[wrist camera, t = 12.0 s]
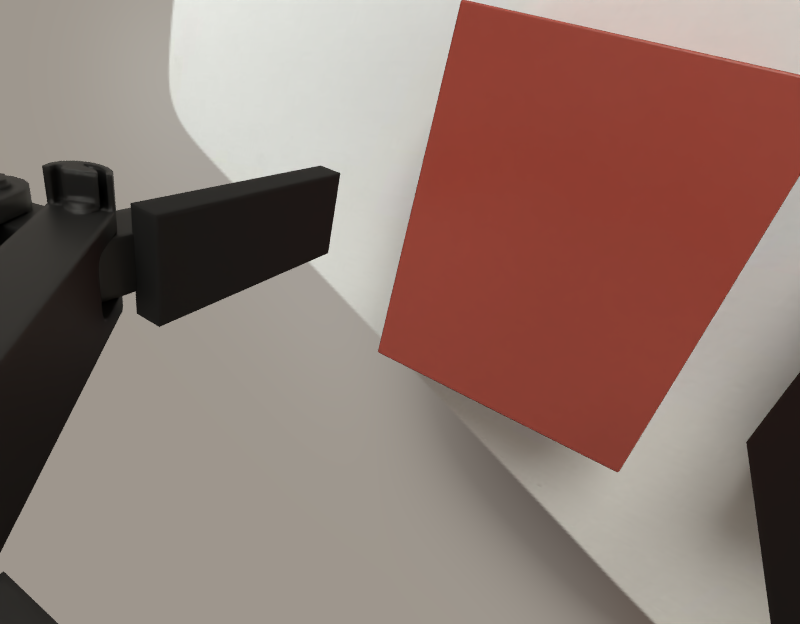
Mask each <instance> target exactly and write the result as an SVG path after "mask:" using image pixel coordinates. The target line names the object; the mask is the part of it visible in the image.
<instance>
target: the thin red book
mask: <svg viewBox="0 0 800 624" xmlns="http://www.w3.org/2000/svg"><path fill="white" fill-rule="evenodd" d="M799 176H800V75H798V74H794V73H789V72H785V71H780V70H776V69H771V68H767V67H762V66H758V65H753V64H749V63H744V62H740V61H735V60H731V59H726V58H722V57H717V56H713V55H709V54H704V53H700V52H695V51H691V50H686V49H682V48H677V47H673V46H668V45H664V44H659V43H655V42H650V41H646V40H641V39H637V38H633V37H628V36H624V35H619V34H615V33H610V32H606V31H601V30H597V29H592V28H588V27H583V26H579V25H574V24H570V23H565V22H561V21H556V20H552V19H548V18H543V17H539V16H534V15H530V14H525V13H521V12H516V11H512V10H507V9H503V8H498V7H494V6H489V5H485V4H480V3H476V2H471V1H467V0H462V1H461V4H460V8H459V12H458V16H457V20H456V25H455V29H454V33H453V37H452V42H451V46H450V50H449V54H448V58H447V63H446V67H445V71H444V75H443V79H442V84H441V88H440V92H439V96H438V101H437V105H436V109H435V113H434V117H433V122H432V126H431V130H430V134H429V139H428V143H427V147H426V151H425V155H424V160H423V164H422V168H421V172H420V176H419V181H418V185H417V189H416V193H415V198H414V202H413V206H412V210H411V214H410V219H409V223H408V227H407V231H406V236H405V240H404V244H403V248H402V252H401V257H400V261H399V265H398V269H397V274H396V278H395V282H394V286H393V290H392V295H391V299H390V303H389V307H388V311H387V316H386V320H385V324H384V328H383V333H382V337H381V341H380V345H379V350H378V352H379V353H381V354H383V355H385V356H387V357H389V358H391V359H393V360H395V361H397V362H399V363H401V364H403V365H405V366H407V367H409V368H411V369H413V370H415V371H417V372H419V373H421V374H423V375H425V376H427V377H429V378H431V379H433V380H435V381H437V382H439V383H441V384H443V385H445V386H446V387H448V388H450V389H452V390H454V391H456V392H458V393H460V394H462V395H464V396H466V397H468V398H470V399H472V400H474V401H476V402H478V403H480V404H482V405H484V406H486V407H488V408H490V409H492V410H494V411H496V412H498V413H500V414H502V415H504V416H506V417H508V418H510V419H512V420H514V421H516V422H518V423H520V424H522V425H524V426H526V427H528V428H530V429H532V430H534V431H536V432H538V433H540V434H542V435H544V436H546V437H548V438H550V439H552V440H554V441H556V442H558V443H560V444H562V445H564V446H566V447H568V448H570V449H572V450H574V451H576V452H578V453H580V454H582V455H584V456H586V457H588V458H590V459H592V460H594V461H596V462H598V463H600V464H602V465H604V466H606V467H608V468H610V469H612V470H614V471H616V472H619V471H620V469H621V468H622V466H623V464H624V463H625V461H626V459H627V458H628V456H629V455H630V453H631V451H632V450H633V448H634V446H635V445H636V443H637V441H638V440H639V438H640V436H641V435H642V433H643V432H644V430H645V428H646V427H647V425H648V423H649V422H650V420H651V418H652V417H653V415H654V414H655V412H656V410H657V409H658V407H659V405H660V404H661V402H662V400H663V399H664V397H665V395H666V394H667V392H668V391H669V389H670V387H671V386H672V384H673V382H674V381H675V379H676V377H677V376H678V374H679V373H680V371H681V369H682V368H683V366H684V364H685V363H686V361H687V359H688V358H689V356H690V354H691V353H692V351H693V350H694V348H695V346H696V345H697V343H698V341H699V340H700V338H701V336H702V335H703V333H704V332H705V330H706V328H707V327H708V325H709V323H710V322H711V320H712V318H713V317H714V315H715V313H716V312H717V310H718V309H719V307H720V305H721V304H722V302H723V300H724V299H725V297H726V295H727V294H728V292H729V291H730V289H731V287H732V286H733V284H734V282H735V281H736V279H737V277H738V276H739V274H740V272H741V271H742V269H743V268H744V266H745V264H746V263H747V261H748V259H749V258H750V256H751V254H752V253H753V251H754V250H755V248H756V246H757V245H758V243H759V241H760V240H761V238H762V236H763V235H764V233H765V231H766V230H767V228H768V227H769V225H770V223H771V222H772V220H773V218H774V217H775V215H776V213H777V212H778V210H779V209H780V207H781V205H782V204H783V202H784V200H785V199H786V197H787V195H788V194H789V192H790V190H791V189H792V187H793V186H794V184H795V182H796V181H797V179H798V177H799Z"/></svg>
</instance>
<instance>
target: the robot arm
mask: <svg viewBox="0 0 800 624" xmlns="http://www.w3.org/2000/svg"><path fill="white" fill-rule="evenodd" d="M42 168H43V175H44V182H45V189H46V196H47V202H48V203H47V204H46V205H45V206H42V205H38V204H35V203H32V201H31V194H30V188H29V183H28V182H26V181H25V180H23V179H20V178H17V177H13V176H6V175H5V174H1V173H0V552H1V550H2V548H3V546H4V544H5V542H6V540H7V538H8V536H9V534H10V532H11V530H12V528H13V526H14V524H15V522H16V520H17V518H18V517H19V515H20V512H21V511H22V508H23V507H24V504H25V503H26V501H27V499H28V497H29V495H30V493H31V491H32V489H33V487H34V485H35V483H36V481H37V479H38V477H39V475H40V473H41V471H42V469H43V467H44V465H45V463H46V461H47V459H48V457H49V455H50V453H51V451H52V449H53V447H54V445H55V443H56V441H57V439H58V437H59V435H60V433H61V431H62V429H63V427H64V425H65V423H66V421H67V419H68V417H69V415H70V413H71V411H72V409H73V407H74V406H75V404H76V402H77V400H78V397H79V396H80V394H81V392H82V390H83V388H84V386H85V384H86V382H87V380H88V378H89V376H90V374H91V372H92V370H93V368H94V366H95V364H96V362H97V360H98V358H99V356H100V354H101V352H102V350H103V348H104V346H105V344H106V342H107V340H108V338H109V336H110V334H111V332H112V330H113V328H114V326H115V324H116V322H117V320H118V318H119V316H120V314H121V313H122V309H123V301H122V296H123V295H126V294H129V293H132V292H135V291H136V306H137V314H139V315H140V316H142V317H144V318H145V319H147V320H149V321H150V322H152V323H154V324H156V325H157V326H159V327H160V326H162V325H165V324H167V323H169V322H171V321H174V320H176V319H178V318H181V317H183V316H185V315H187V314H190V313H192V312H194V311H197V310H199V309H201V308H203V307H206V306H208V305H210V304H213V303H215V302H217V301H219V300H221V299H224V298H226V297H229V296H231V295H233V294H235V293H238V292H240V291H242V290H244V289H247V288H249V287H251V286H254V285H256V284H258V283H261V282H263V281H265V280H267V279H270V278H272V277H274V276H276V275H279V274H281V273H283V272H286V271H288V270H290V269H292V268H295V267H297V266H299V265H302V264H304V263H306V262H309V261H311V260H313V259H315V258H318V257H320V256H322V255H325V254H327V253H328V250H329V243H330V237H331V230H332V224H333V217H334V211H335V204H336V198H337V191H338V185H339V178H340V173H338V172H336V171H333V170H330V169H328V168H325V167H323V166H316V167H311V168H306V169H301V170H296V171H291V172H286V173H281V174H276V175H271V176H266V177H261V178H256V179H251V180H246V181H241V182H236V183H231V184H226V185H220V186H216V187H210V188H206V189H200V190H195V191H191V192H185V193H180V194H175V195H170V196H165V197H160V198H155V199H150V200H145V201H140V202H134V203H131V208H128V209H122V210H118V211H116V205H115V192H114V178H113V171H112V170H111V169H109V168H108V167H105V166H103V165H100V164H96V163H90V162H83V161H58V162H52V163H48V164H45V165H43V166H42ZM746 443H747V450H748V458H749V465H750V473H751V480H752V487H753V495H754V502H755V510H756V517H757V525H758V532H759V539H760V547H761V554H762V562H763V569H764V576H765V584H766V591H767V599H768V606H769V613H770V621H771V624H800V373H799V374H798V375H797V376H796V378H795V379H794V380H793V382H792V383H791V384H790V386H789V387H788V388H787V390H786V391H785V392H784V393H783V395H782V396H781V397H780V399H779V400H778V401H777V403H776V404H775V405H774V407H773V408H772V409H771V411H770V412H769V413H768V414H767V416H766V417H765V418H764V420H763V421H762V422H761V424H760V425H759V426H758V428H757V429H756V430H755V432H754V433H753V434H752V435H751V437H750V438H749V439H748V441H747V442H746ZM0 624H58V623H57V622H56V621H55V620H54V619H53V618H52V617H51V616H50V615H49V614H47V613H46V612H45V611H44V610H43V609H42V608H41V607H40V606H39V605H38V604H37V603H36V602H35V601H34V600H33V599H32V598H31V597H30V596H29V595H28V594H27V593H25V591H24V590H22V589H21V588H20V587H19V586H18V585H17V584H16V583H15V582H14V581H13V580H12V579H11V578H10V577H9V576H8V575H7V574H6V573H5V572H2V573H1V574H0Z"/></svg>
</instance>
